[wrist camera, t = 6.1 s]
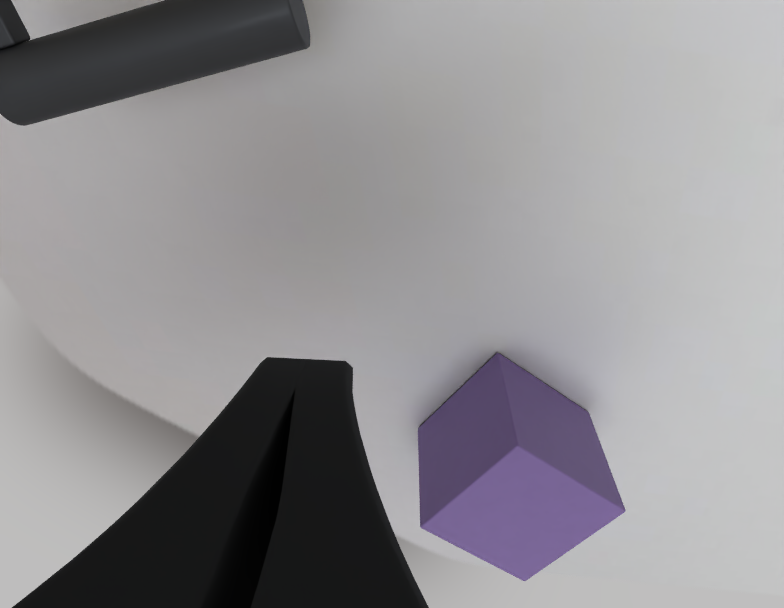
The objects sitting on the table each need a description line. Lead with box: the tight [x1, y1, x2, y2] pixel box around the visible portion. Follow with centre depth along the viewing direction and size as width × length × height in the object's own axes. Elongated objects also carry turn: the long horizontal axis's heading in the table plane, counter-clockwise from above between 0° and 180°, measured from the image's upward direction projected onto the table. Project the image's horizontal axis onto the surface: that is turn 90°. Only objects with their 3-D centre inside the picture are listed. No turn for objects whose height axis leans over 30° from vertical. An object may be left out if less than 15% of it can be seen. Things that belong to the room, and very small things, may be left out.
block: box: [418, 353, 625, 581], centre depth 20 cm, size 4×4×4 cm
